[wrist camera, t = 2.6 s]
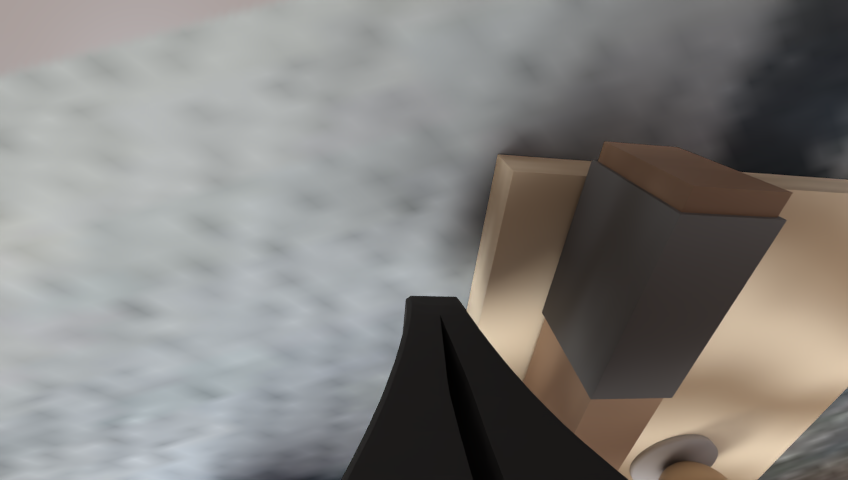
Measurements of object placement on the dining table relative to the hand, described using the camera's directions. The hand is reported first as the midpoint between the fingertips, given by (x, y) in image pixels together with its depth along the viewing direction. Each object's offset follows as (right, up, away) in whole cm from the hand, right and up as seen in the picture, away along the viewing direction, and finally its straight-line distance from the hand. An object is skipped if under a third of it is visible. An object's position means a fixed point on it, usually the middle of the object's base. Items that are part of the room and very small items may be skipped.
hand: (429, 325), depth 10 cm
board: (+10, -3, +6) cm, 12 cm away
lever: (+4, -3, +4) cm, 6 cm away
